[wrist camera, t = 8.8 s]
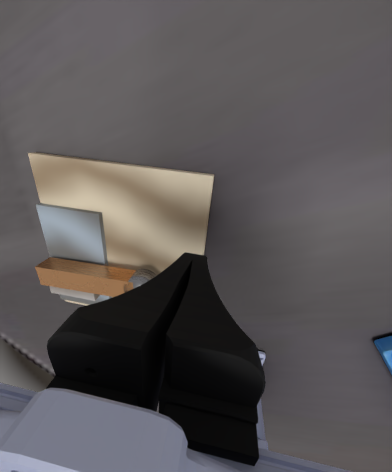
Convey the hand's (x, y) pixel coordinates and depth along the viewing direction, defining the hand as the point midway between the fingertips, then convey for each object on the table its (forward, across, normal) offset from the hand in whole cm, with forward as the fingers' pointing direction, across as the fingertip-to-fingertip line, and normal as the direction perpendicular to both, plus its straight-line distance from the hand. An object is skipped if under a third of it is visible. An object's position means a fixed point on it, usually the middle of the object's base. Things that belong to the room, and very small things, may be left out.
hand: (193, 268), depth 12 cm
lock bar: (+7, +11, +8) cm, 16 cm away
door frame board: (+9, +9, +6) cm, 14 cm away
